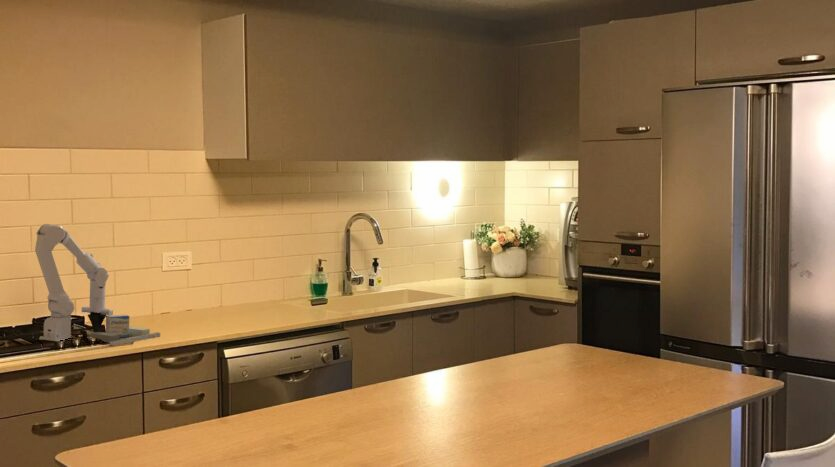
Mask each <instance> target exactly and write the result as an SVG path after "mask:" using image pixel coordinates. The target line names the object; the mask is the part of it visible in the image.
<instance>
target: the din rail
mask: <svg viewBox="0 0 835 467" xmlns="http://www.w3.org/2000/svg"><path fill="white" fill-rule="evenodd" d="M159 337H161V332H153V333H152V332H150V334H145V335H140V336H135V337H133V336H129V337H128V338H119V340H114V341H110V344H109V346H112V347H114V346H119V345H124V344H128V343H134V342H138V341H145V340H149V339H153V338H159Z"/></svg>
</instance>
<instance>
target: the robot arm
mask: <svg viewBox="0 0 835 467" xmlns="http://www.w3.org/2000/svg"><path fill="white" fill-rule="evenodd" d="M64 228H65V227H63V226H62V225H57V224H49V223H44V224H42V225H41V226H40V227H39V229H38V230H37V231H36V232H35V233H36V242H35V247H34V252H35V254H36V257H37V261H38V264H39V267H40V270H41V273H42V276H43V279H44V282H45V285H46V288H47V292H48V296H47V301H48V302H47V309H48V310H49V312H50V317H47V318H46V319H45V320H44V322H43V337H42V338H41V340H42V341H43V340H45V341H51V342H61V341H60V340H63V341H66V340H65V339H68V338H70V337H71V336H72V335H71V334H72V333H71V331H72V326H71V325H72V324H71V323H72V314H73V313H74V311H75V303H74V302H73V301H72V300H71V299H70V296H69V295H68V293H67V292H66V291H65V289H64V286H63V283H62V280H61V277H60V274H59V270H58V267H57V265H56V261H55V258H54V255H53V252H52V251H53V250H54V249H55V247H56V246H57V245H58V244H61V245H63V246H64V247H65V249H67V250H68V251H69V252H70V253H71V254H72V255H73V256H74V257H75V258H76V264H77V265H78V266H79V267H80V268H81V269H82V270H83V271H84V272H85V273H86V276H87V279H88V280H89V306H82V307H81V313H89V314H87V317H88V319H89V321H90V323H91V326H92V327H91V328H92V331H93V332H92V333H95V332H101V329H102V325H103V322H104V321H105V320H106V316H111V315H114V310H113V309H109V308H107V307H105V306H106V282H107V280H108V279H109V276H110V275H109V274H108V271H107V269H105V268H104V267H101V266H102V265H101V263H100V262H97V261H96V260H95V258H94V255H93V254H92V253H89V252H84V251H83V250H82V248H80V246H79V245H78V244H77V243H76V241H75V240H74V239H73V237H71V235H70V233H69V232H68V231H67V230H66V229H64ZM68 340H69V339H68Z"/></svg>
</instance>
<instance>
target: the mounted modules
mask: <svg viewBox="0 0 835 467" xmlns="http://www.w3.org/2000/svg"><path fill="white" fill-rule="evenodd" d="M150 329H151V328H147V327H138V326H132V325H131V326H130V325H129V337H135V336H140V335H145V334H151V332H150V331H151V330H150ZM91 337H92V338H98V339H101V340H102V341H104V342H107V343H106V344H109V345H110V341H114V340H119V339H120V338H119V334H111V333H106V332H103V331H100V332H92V333H90V338H91Z"/></svg>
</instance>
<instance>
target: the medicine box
mask: <svg viewBox="0 0 835 467" xmlns="http://www.w3.org/2000/svg"><path fill="white" fill-rule="evenodd" d="M129 326H130V315H128V314H115V315H114V314H113V315H106V317H105V333H111V334H119V339H125V338H130V336H129Z"/></svg>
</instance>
